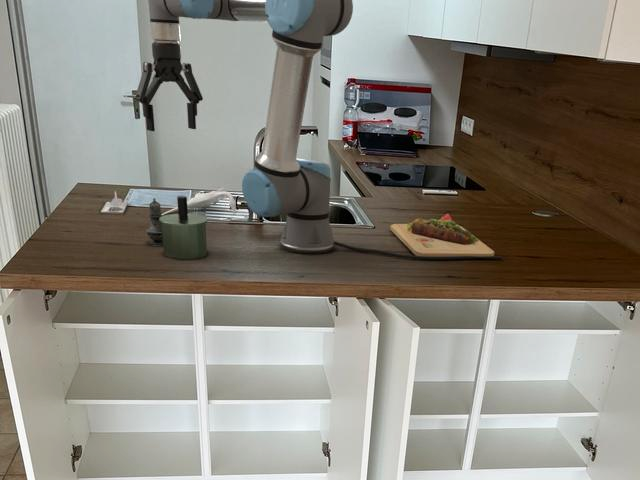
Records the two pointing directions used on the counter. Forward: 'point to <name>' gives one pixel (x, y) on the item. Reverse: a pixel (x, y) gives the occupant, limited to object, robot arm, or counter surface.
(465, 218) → the counter surface
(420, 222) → the cutting board
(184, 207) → the pot lid
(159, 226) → the dark grey tall piece
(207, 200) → the dinosaur
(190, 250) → the pot
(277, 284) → the counter surface
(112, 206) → the car cutout
